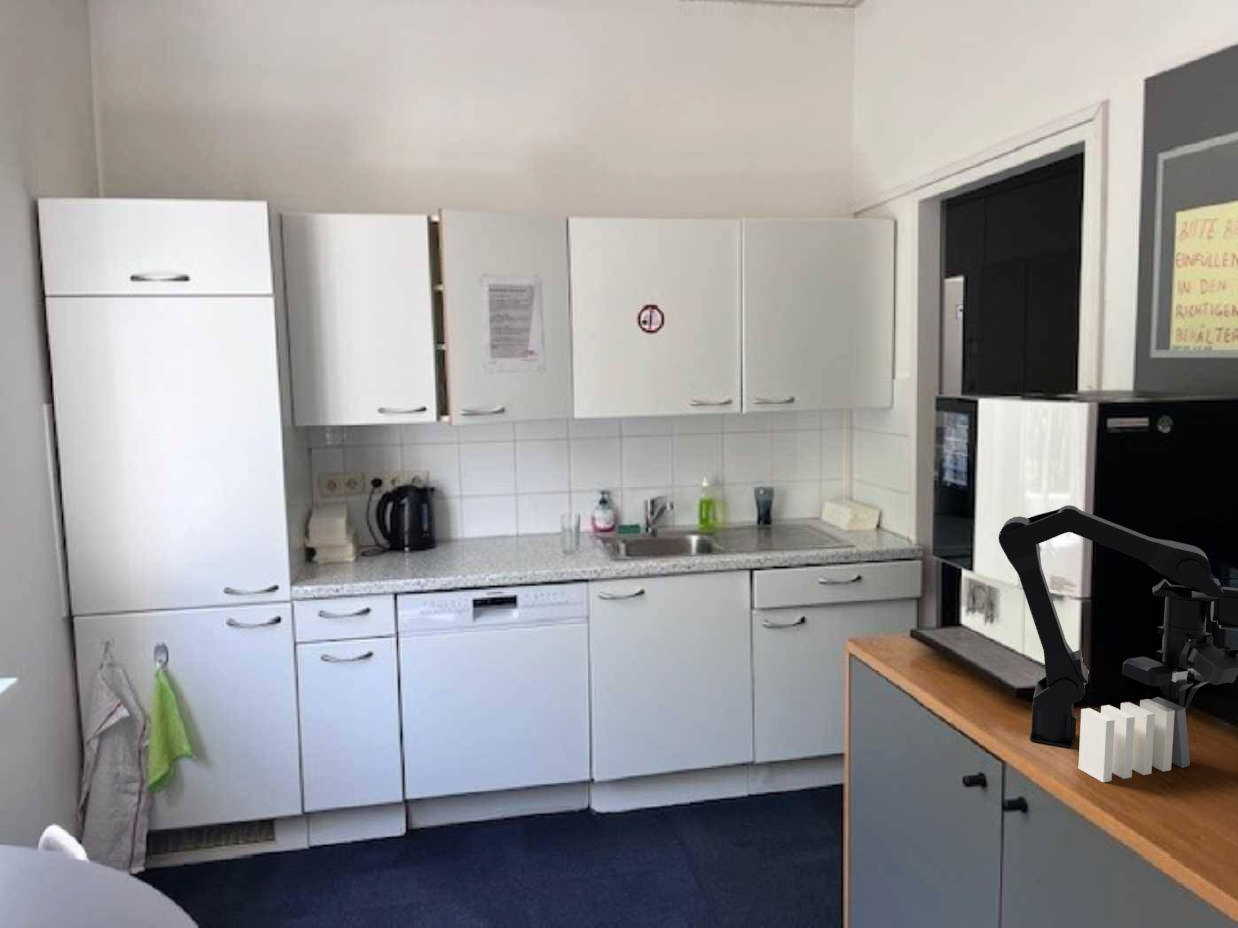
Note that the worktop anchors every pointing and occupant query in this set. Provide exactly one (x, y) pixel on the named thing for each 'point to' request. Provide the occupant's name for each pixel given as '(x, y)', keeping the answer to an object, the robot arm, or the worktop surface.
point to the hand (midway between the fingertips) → (1178, 716)
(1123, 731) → the domino
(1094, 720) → the domino
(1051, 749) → the worktop surface
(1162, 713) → the domino
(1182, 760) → the domino
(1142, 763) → the domino
